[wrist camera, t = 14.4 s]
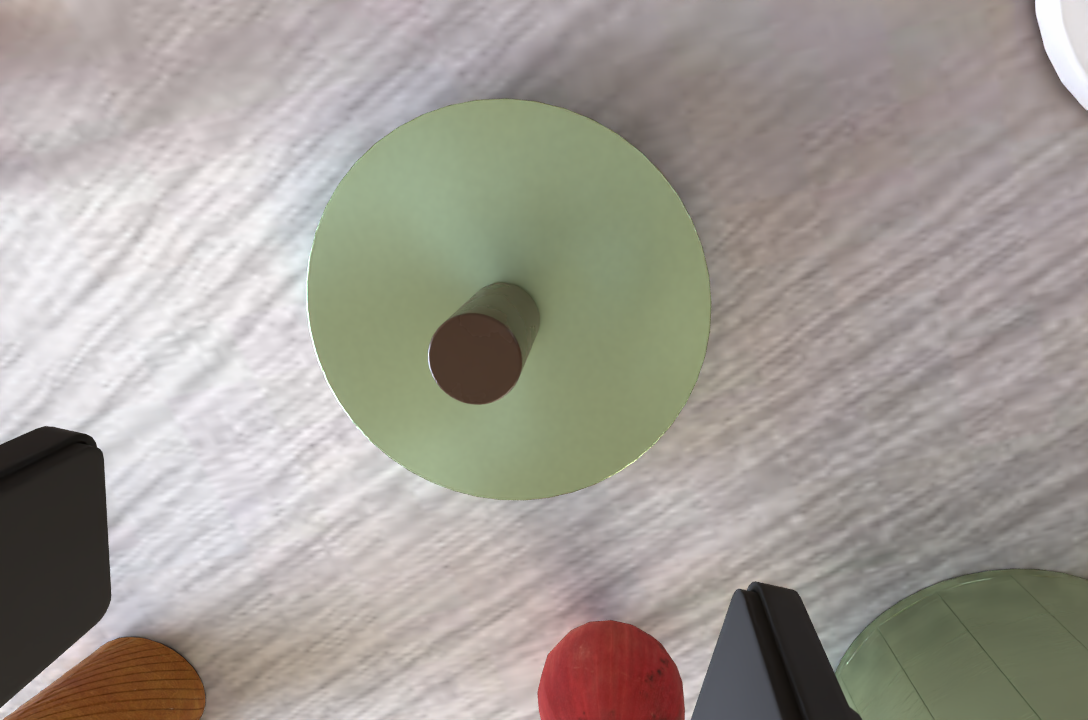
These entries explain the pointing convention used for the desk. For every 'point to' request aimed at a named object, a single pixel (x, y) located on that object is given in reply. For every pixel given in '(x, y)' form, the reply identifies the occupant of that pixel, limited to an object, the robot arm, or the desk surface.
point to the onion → (610, 676)
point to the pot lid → (508, 299)
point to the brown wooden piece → (122, 687)
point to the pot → (976, 651)
